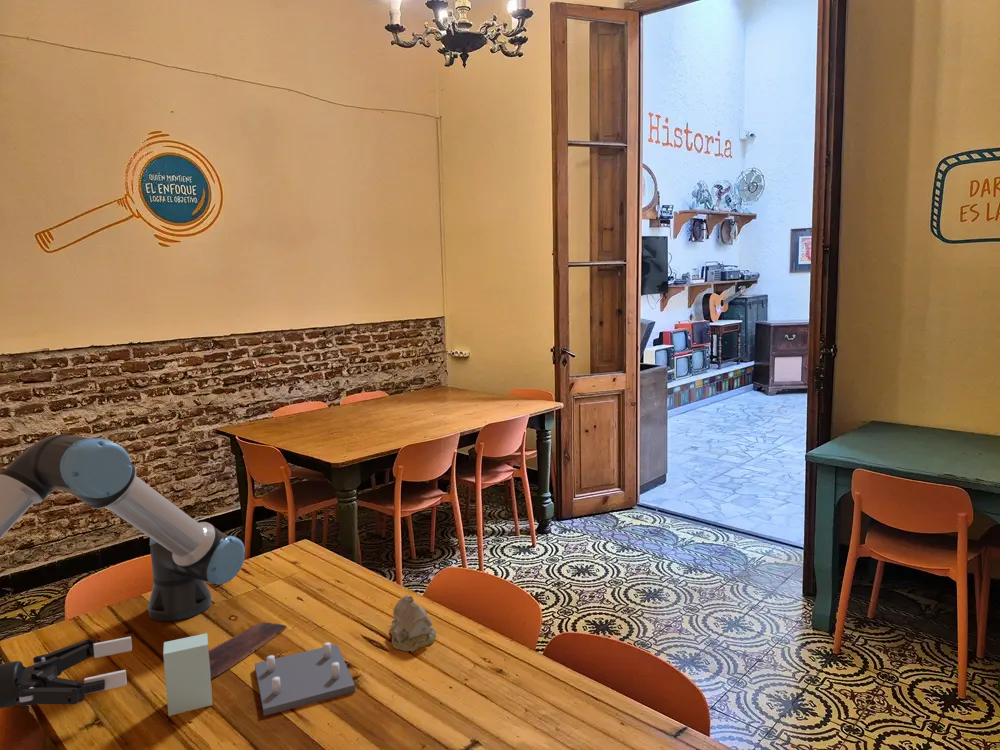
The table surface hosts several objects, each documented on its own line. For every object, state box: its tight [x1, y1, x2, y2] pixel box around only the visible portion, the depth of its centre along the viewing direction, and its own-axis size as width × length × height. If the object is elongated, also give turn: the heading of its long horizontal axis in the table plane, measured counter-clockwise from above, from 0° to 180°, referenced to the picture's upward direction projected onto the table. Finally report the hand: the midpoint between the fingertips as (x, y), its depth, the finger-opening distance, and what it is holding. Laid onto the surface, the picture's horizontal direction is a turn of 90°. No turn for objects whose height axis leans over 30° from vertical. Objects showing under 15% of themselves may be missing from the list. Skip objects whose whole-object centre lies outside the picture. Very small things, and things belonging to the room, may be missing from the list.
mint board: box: [162, 632, 213, 717], centre depth 135 cm, size 5×8×13 cm, turn 115°
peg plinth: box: [254, 641, 356, 717], centre depth 143 cm, size 18×18×4 cm
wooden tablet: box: [208, 622, 287, 680], centre depth 156 cm, size 26×2×10 cm
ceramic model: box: [389, 594, 437, 652], centre depth 160 cm, size 14×11×10 cm
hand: (129, 659), depth 130 cm, fingers open, 13 cm apart
